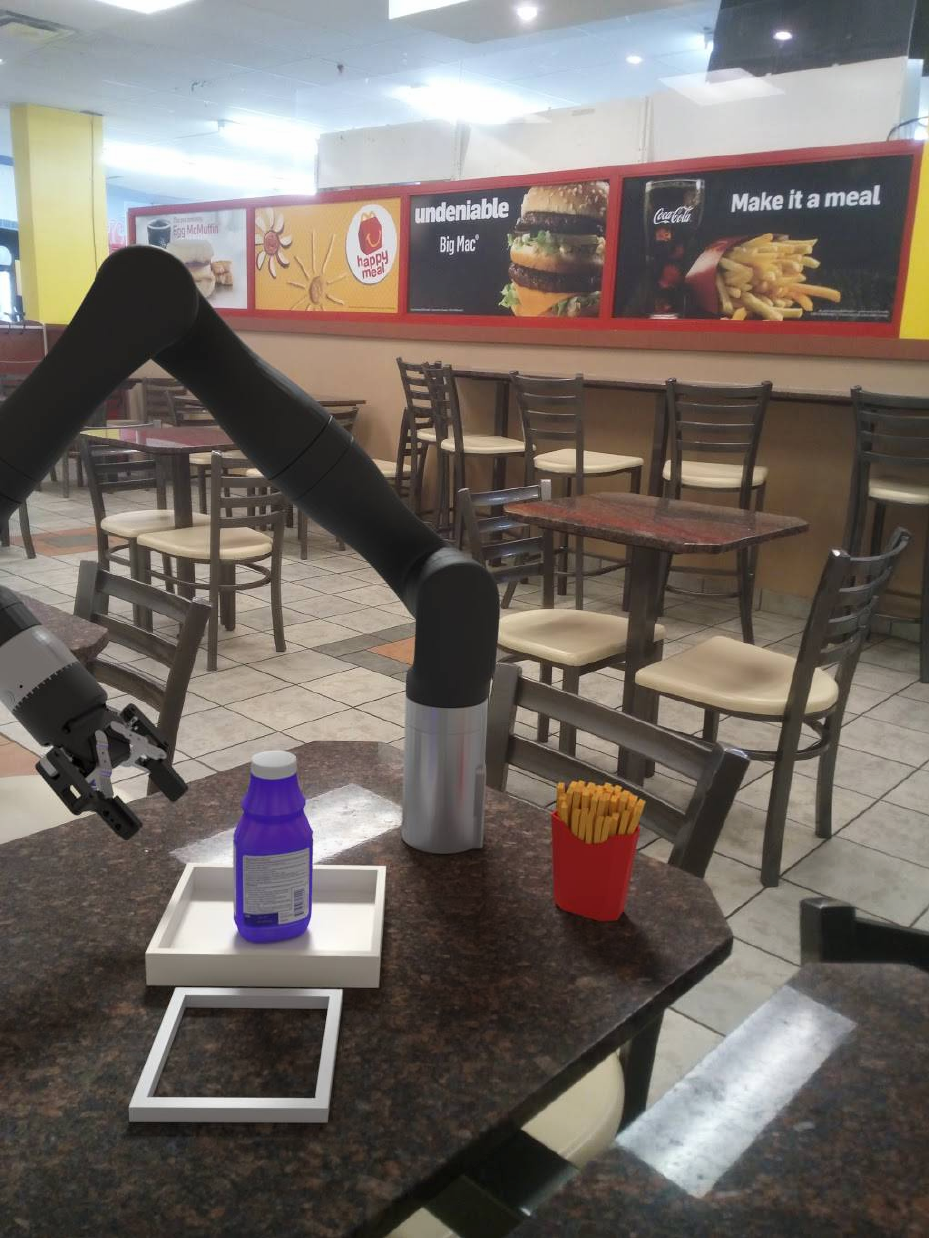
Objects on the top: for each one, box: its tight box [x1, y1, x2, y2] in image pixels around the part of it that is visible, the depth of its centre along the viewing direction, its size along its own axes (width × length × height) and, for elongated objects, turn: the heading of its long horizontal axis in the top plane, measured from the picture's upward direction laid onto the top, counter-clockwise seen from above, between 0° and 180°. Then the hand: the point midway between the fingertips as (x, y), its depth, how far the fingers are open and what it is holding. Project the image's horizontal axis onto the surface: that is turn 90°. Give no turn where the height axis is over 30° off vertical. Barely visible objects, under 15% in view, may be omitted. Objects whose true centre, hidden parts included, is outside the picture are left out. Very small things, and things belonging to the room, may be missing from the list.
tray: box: [144, 862, 387, 989], centre depth 94 cm, size 20×16×3 cm
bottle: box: [232, 749, 314, 943], centre depth 92 cm, size 7×6×17 cm
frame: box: [128, 986, 344, 1124], centre depth 78 cm, size 14×14×1 cm
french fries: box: [550, 780, 647, 922], centre depth 100 cm, size 9×4×13 cm, turn 63°
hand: (159, 814), depth 94 cm, fingers open, 8 cm apart
